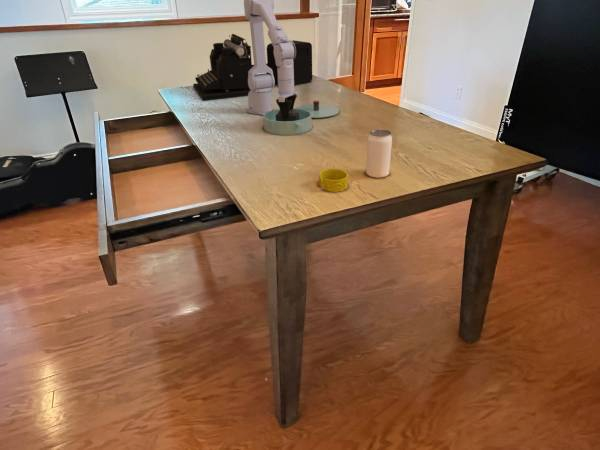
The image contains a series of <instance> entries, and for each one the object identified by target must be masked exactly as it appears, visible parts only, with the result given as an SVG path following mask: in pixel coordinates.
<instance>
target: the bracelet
mask: <svg viewBox="0 0 600 450" xmlns="http://www.w3.org/2000/svg"><path fill="white" fill-rule="evenodd" d="M348 183H349V174H348V173H347V172H346V171H345V170H342V169H339V168H326V169H322V170H320V172H319V173H318V187H323V190H324V191H326V192H332V193H337V192H338V193H339V192H342V191H345V190H347V189H348V187H349V185H348Z"/></svg>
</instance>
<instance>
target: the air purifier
mask: <svg viewBox="0 0 600 450" xmlns="http://www.w3.org/2000/svg"><path fill="white" fill-rule="evenodd" d="M291 41H292V42H294V44H295V47H296V57H295V59H293V67H294V87H295V86H299V85H304V84H305V85H306V84H309V83H311V82H312V81H313V45H312V43H311V42H308V41H303V40H302V41H301V40H291ZM273 51H274V47H273V45H272V43H271V42H270V43H268V44H267V46H266V65H267V66H268V67H269V68H271V69H272V71H273V76H274V80H275V85H274V86H278V71H277V66H276V62H275V57H274V52H273Z"/></svg>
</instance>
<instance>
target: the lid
mask: <svg viewBox="0 0 600 450" xmlns="http://www.w3.org/2000/svg"><path fill="white" fill-rule="evenodd" d="M296 108H297V109H304V110H307V111H309V112H311V114H312V119H322V118H323V119H324V118H328V117H332V116H336V115H337V114H339V112H340V109H339V107H337V106H335V105H331V104H323V103H320V101H319V100H313V102H312V104H311V103H310V104H303V105H300V106H297V107H296Z"/></svg>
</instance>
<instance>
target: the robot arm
mask: <svg viewBox="0 0 600 450" xmlns="http://www.w3.org/2000/svg"><path fill="white" fill-rule="evenodd" d="M243 9H244V16H245V20H248V21H249V28H250V38H251V48H252V58H253V65H252V68H251V69H250V70H249V71H248V85H249V88H250V90H251V91H250V92H249V93H248V96H247V103H248V110H247V113H248V114H254V115H260V116H263V115H264V114H265V113H266V112H268V111H272V110H274V109H275V108H274V109H273V108H272V91H273V89H274V87H275V86H276V85H275V80H274V76H273V71H272V69H271V68H269V67H268V64H267V54H266V45H265V34H264V24H265V25H266V27H267V28H268V30H267V36H268V38H269V40H270V43H272V45H273V47H274V51H273V52H274V57H275V62H276V66H277V71H278V85H277V86H278V87H277V88H278V91H277V95H278V97H277V99H276V100H275V101H276V102H275V103H276V105H277V106H278V109H280V111H281V115H282V118H283V119H289V112H290V110H292V109H293V108H295V102H296V99H297V97H298V95H297V94H299V93H298V91H297V90H296V91H295V86H294V67H293V59H295V57H296V47H295V44H294V42H292V41H293V40H291V39H289V38H288V36H287V34H286V32H285V30H284V27H283V26H282V24H278V20H277V18H276V15H275V13H274V9H275V0H243Z"/></svg>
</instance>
